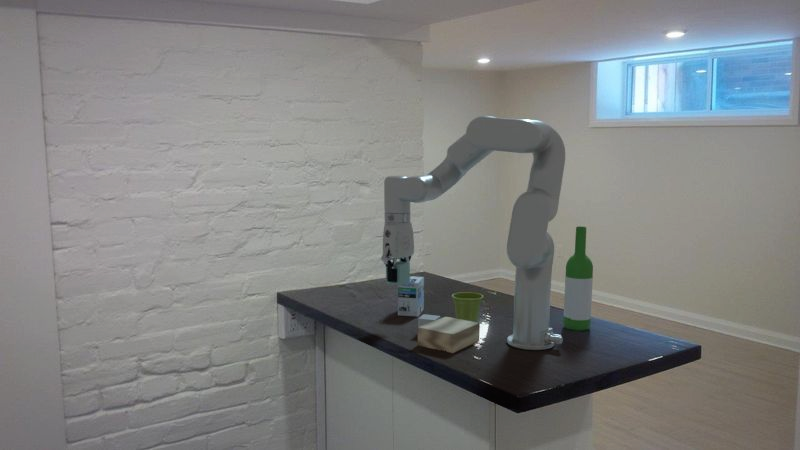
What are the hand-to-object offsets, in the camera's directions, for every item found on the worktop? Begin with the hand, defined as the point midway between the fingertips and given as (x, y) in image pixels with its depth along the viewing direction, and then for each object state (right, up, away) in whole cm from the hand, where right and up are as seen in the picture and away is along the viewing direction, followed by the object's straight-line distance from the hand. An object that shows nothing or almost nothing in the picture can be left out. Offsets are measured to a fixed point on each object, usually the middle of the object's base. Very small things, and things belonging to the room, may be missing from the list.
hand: (397, 279), depth 207 cm
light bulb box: (+4, -12, +17) cm, 21 cm away
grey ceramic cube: (+9, -15, -7) cm, 19 cm away
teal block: (0, -1, 0) cm, 1 cm away
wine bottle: (+53, -15, +1) cm, 55 cm away
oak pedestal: (+14, -16, -16) cm, 26 cm away
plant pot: (+21, -14, +4) cm, 25 cm away
